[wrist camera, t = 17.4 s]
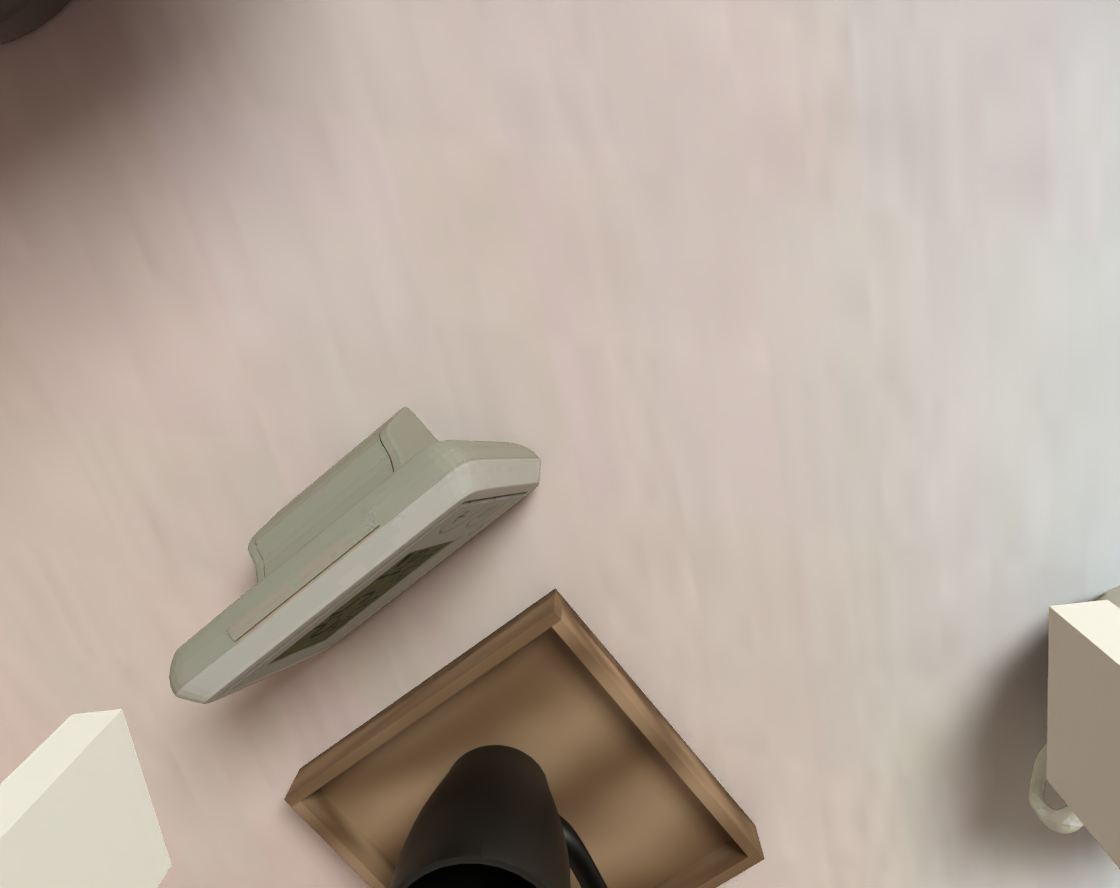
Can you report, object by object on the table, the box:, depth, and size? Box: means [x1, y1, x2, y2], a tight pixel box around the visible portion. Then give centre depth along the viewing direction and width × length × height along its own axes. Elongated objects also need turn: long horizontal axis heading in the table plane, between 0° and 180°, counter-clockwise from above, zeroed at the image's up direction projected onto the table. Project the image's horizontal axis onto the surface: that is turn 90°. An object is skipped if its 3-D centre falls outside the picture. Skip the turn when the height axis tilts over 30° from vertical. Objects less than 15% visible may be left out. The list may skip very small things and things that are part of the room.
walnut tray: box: [284, 589, 764, 888], centre depth 45 cm, size 18×18×2 cm
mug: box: [390, 745, 608, 888], centre depth 40 cm, size 8×12×10 cm
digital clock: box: [169, 407, 541, 704], centre depth 37 cm, size 16×9×11 cm, turn 118°
